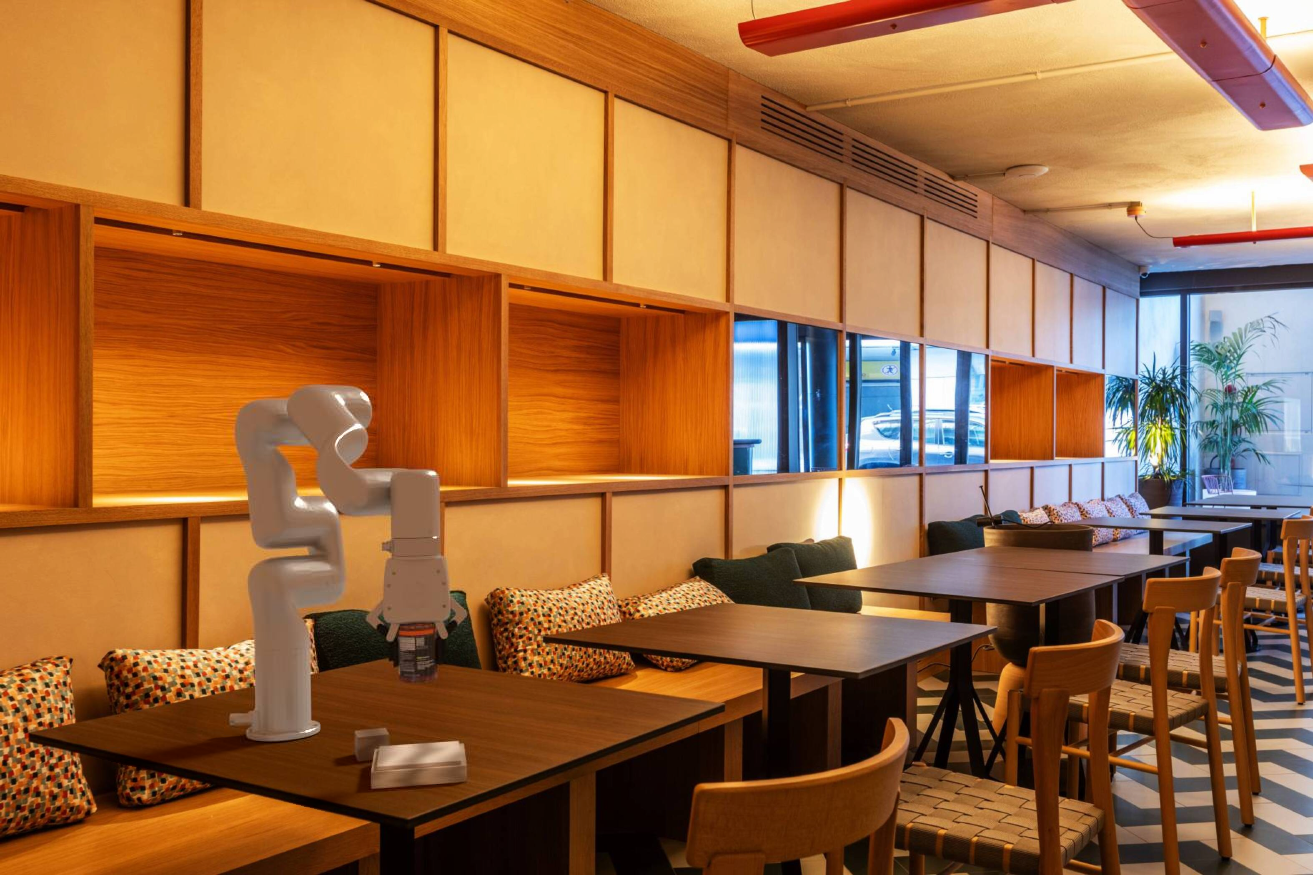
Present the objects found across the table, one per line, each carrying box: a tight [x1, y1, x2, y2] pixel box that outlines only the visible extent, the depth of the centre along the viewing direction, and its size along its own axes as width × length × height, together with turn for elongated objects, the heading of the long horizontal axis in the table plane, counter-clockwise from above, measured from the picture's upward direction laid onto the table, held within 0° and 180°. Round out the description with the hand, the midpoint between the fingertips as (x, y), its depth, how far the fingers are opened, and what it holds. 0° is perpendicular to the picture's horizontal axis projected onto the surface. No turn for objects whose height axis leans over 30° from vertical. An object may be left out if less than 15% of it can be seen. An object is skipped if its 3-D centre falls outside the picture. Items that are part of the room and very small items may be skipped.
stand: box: [370, 740, 468, 790], centre depth 177 cm, size 14×14×3 cm
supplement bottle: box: [397, 622, 439, 685], centre depth 177 cm, size 6×6×11 cm
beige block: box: [354, 727, 390, 762], centre depth 188 cm, size 5×5×4 cm
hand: (417, 663), depth 177 cm, fingers closed on supplement bottle, 6 cm apart
